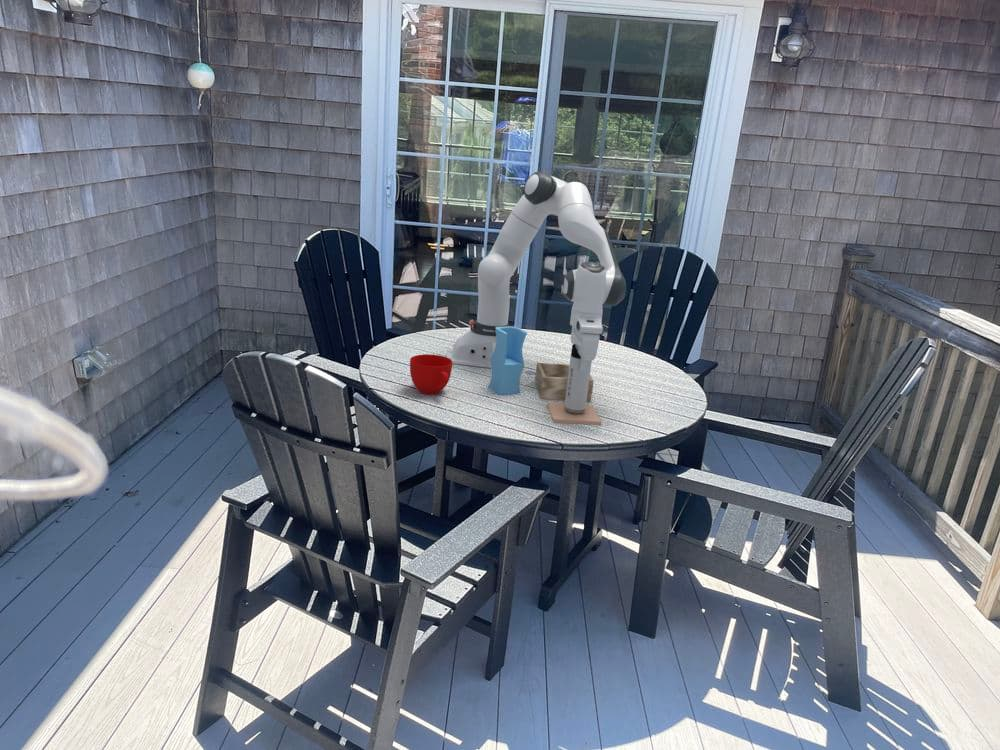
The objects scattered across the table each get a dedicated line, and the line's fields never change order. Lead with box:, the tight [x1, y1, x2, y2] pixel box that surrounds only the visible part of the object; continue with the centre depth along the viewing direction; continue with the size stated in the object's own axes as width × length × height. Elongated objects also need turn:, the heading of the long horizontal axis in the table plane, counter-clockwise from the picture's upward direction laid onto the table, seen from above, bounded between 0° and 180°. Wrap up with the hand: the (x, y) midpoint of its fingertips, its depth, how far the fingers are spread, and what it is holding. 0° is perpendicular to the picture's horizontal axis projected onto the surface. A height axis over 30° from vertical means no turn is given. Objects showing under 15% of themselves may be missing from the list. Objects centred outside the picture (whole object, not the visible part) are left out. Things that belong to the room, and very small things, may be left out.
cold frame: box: [534, 361, 595, 402], centre depth 234 cm, size 16×16×7 cm
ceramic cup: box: [409, 353, 453, 396], centre depth 221 cm, size 13×17×10 cm
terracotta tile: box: [546, 402, 603, 426], centre depth 215 cm, size 14×14×1 cm
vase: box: [487, 325, 528, 396], centre depth 229 cm, size 8×8×20 cm
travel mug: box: [564, 344, 593, 413], centre depth 213 cm, size 6×7×20 cm
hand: (579, 366), depth 211 cm, fingers closed on travel mug, 6 cm apart
